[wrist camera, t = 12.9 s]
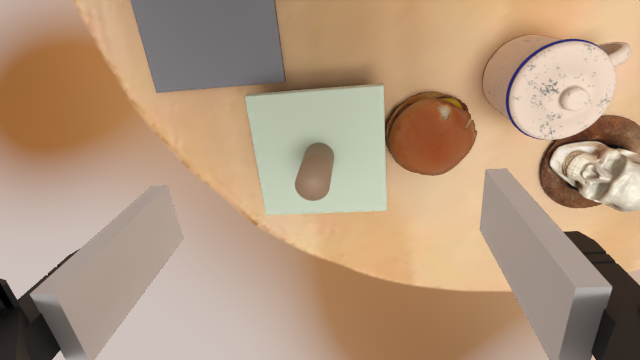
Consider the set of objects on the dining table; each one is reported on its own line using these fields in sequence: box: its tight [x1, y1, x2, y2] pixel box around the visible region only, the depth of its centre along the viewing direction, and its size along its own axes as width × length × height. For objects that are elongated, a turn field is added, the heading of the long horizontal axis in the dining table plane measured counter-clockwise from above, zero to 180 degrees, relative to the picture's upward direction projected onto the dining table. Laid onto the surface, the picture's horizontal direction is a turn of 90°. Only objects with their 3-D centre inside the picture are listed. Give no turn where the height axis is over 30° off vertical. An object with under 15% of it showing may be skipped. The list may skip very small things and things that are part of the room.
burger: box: [386, 92, 477, 176], centre depth 43 cm, size 10×9×5 cm
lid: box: [245, 83, 387, 215], centre depth 37 cm, size 14×14×8 cm
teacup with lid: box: [483, 35, 631, 140], centre depth 36 cm, size 12×9×12 cm
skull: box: [541, 116, 640, 212], centre depth 44 cm, size 12×10×10 cm
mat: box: [131, 0, 285, 93], centre depth 41 cm, size 16×16×1 cm
